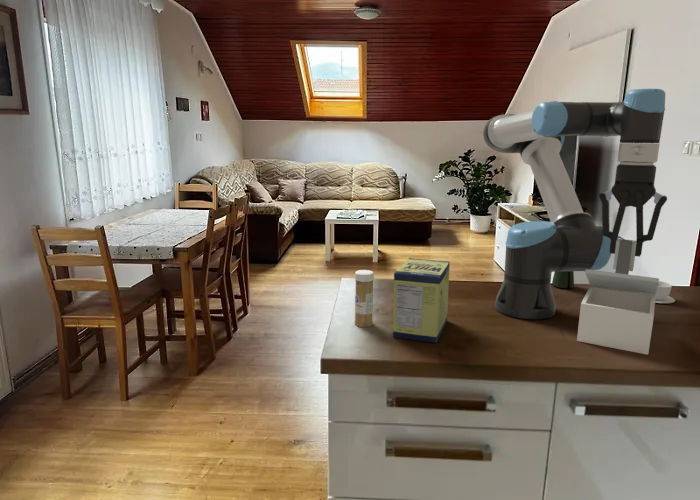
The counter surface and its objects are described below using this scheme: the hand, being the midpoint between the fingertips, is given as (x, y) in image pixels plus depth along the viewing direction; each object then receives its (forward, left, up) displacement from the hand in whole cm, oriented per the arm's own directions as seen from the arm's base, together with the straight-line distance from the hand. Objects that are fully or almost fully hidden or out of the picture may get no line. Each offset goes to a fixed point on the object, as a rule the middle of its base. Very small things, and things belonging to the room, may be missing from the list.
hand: (623, 268), depth 113 cm
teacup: (+7, +37, -16) cm, 41 cm away
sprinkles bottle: (-53, -26, -16) cm, 61 cm away
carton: (0, -1, -16) cm, 16 cm away
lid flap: (0, +7, -7) cm, 10 cm away
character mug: (-17, +34, -16) cm, 42 cm away
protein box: (-40, -21, -16) cm, 48 cm away
